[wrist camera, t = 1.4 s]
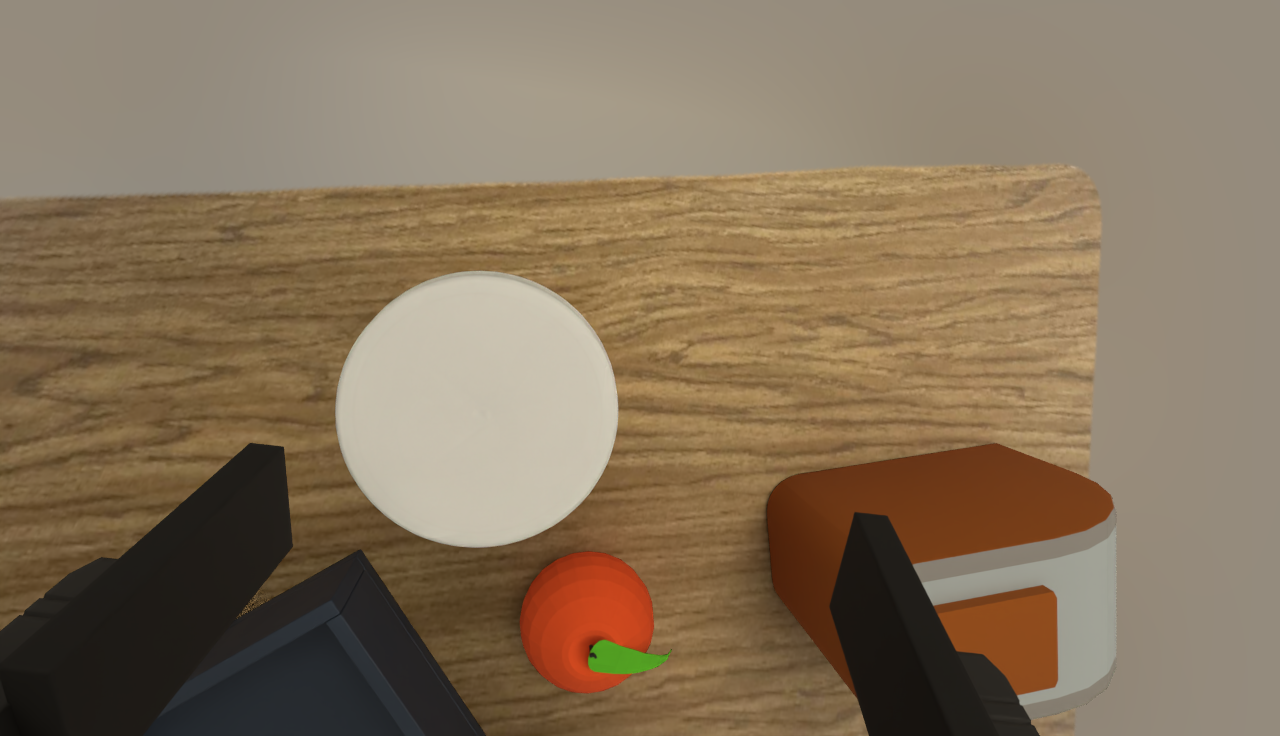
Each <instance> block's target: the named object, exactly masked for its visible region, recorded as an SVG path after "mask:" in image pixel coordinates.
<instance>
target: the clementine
mask: <svg viewBox="0 0 1280 736" xmlns="http://www.w3.org/2000/svg"><path fill="white" fill-rule="evenodd" d="M653 629H654V621H653V608H652V601H651V598H650V596H649V593H648V590H647V588H646V586H645V585H644V583H643V582H642V581H641V579H640V578H639V577H638V575H637V574H636V573H635V571H634V570H633V569H632V568H631V567H630V566H628V565H627V564H626V563H624V562H623V561H622V560H621V559H618V558H616V557H613V556H611V555H608V554H606V553H599V552H590V551H587V552H579V553H572V554H570V555H567V556H565V557H562V558H560V559H557V560H556V561H554V562H553V563H551V564H550V565H549V566H547V567H546V568H544V569H543V570H542V571H541V572H540V573H539V575H538V576H537V577H536V578H535V579H534V581H533V582H532V583H531V585H530V587H529V589H528V592H527V594H526V596H525V598H524V601H523V605H522V610H521V616H520V631H521V639H522V643H523V646H524V649H525V651H526V654H527V656H528V659H529V661H530V662H531V664H532V665H533V666H534V667H535V669H536V670H537V671H538V672H539V674H541V675H542V676H543V677H544V678H545V679H547V680H548V681H550V682H551V683H552V684H554V685H555V686H557V687H559V688H562V689H565V690H567V691H570V692H576V693H593V692H599V691H604V690H606V689H609V688H611V687H614V686H616V685H618V684H619V683H621V682H622V681H624V680H625V679H626V678H628V677H629V676H630V675H631V674H632V673H638V672H642V671H646V670H650V669H653V668H655V667H658V666H659V665H661V664H662V663H663V662H665V661H666V660H667V659H668V656H669V654H670V652H671V650H672V649H671V650H670V652H669V653H668V654H665V655H654V654H647V653H646V652H647V650H648V647H649V645H650V643H651V639H652V634H653Z"/></svg>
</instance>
